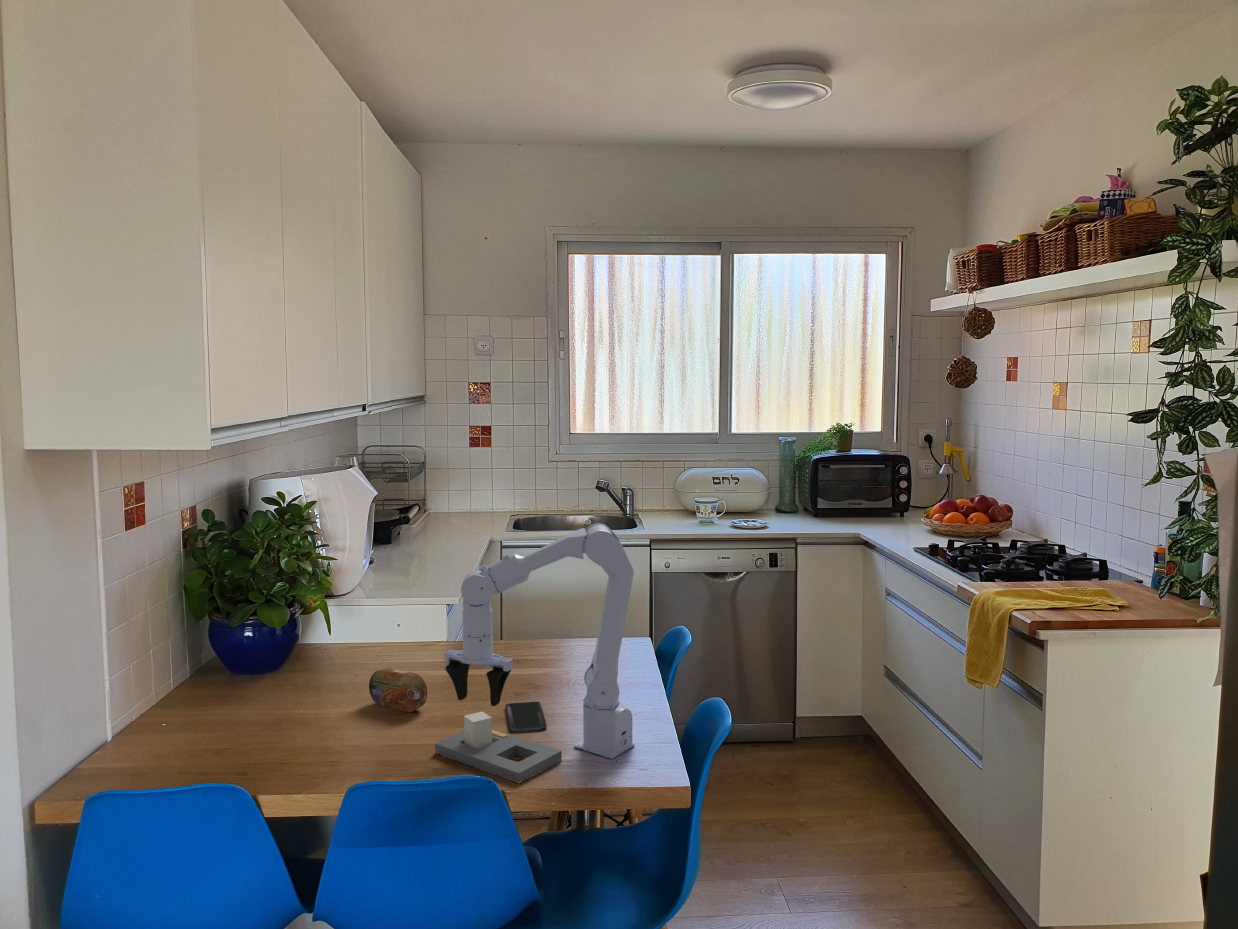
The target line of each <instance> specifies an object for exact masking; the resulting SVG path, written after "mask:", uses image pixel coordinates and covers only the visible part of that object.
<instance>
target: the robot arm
mask: <svg viewBox="0 0 1238 929" xmlns="http://www.w3.org/2000/svg"><path fill="white" fill-rule="evenodd" d="M584 554H586V556H587V557H588V559H589V560H590V561H592V562H593V563H595V564H596V565H597V566H599V567H601V568H602V570H603V571H604V572H605V573H606V575H607V576H608V579H607V584H606V589H605V596H604V600H603V606H602V612H601V618H600V624H599V628H598V634H597V639H596V645H595V649H594V653H593V655H592V659H591V662H590V665H589V666H588V668H587V669H586V670H585V672H584V678H583V680H584V684H585V687H586V695H585V697H584V698H583V700H582V701H583V702H582V703H583V705H582V707H583V710H582V711H583V714H582V715H583V717H582V719H583V728H582V729H583V730H582V731H583V733H582V734H583V738H582V740H580V741H578V742H576V743H574V744H573V747H574V748H576V749H579V750H582V751H586V752H589V753H592V754H595V755H597V756H602V757H605V758H607V759H614V758H615V757H617V756H618V755H620V754H622V753H624V752H626V751H628V750H630V749H632V747H635V746H636V744H635V742H633V714H632V711H631V710H630V709H628V708H626V707H624V706H623V705H622V704H621V702H620V688H619V684H618V676H619V656H620V653H621V652H620V651H621V647H622V642H623V641H622V640H623V634H624V629H625V625H626V620H627V613H628V609H629V608H628V607H629V601H630V596H631V592H632V585H633V582H634V581H633V579H634V573H635V572H634V568H633V566H632V563H631V562H630V559H629V557H628V555H627V553H626V551H625V548H624V546H623V544H622V542H621V540H620V539H619V537H618V536H617V534H615V533H614V531H613V530H612V529H611V528H610V527H609V526H607V525H606V524H604V523H592V524H591V525H589V526H587V527H586V528H585V527H583V528H579V529H576V530H574V531H572V532H570V533H567V534H565V535H564V536H562V537H560V538H558V539H556V540H554V541H551V542H550V543H548V544H546V545H544V546H541V547H540V548H538V549H536V550H534V551H532V552H530V553H527V554H526V555H524V556H523V555H520V554H517V553H513V554H511V555H510V554H509V553H505V554H504V555H503V554H502V559H501V560H498V561H496V562H494V563H491V564H490V565H487V566H486V565H481V566H480V567H479V570H473V571H471V572H468V573H467V574H466V575H465V577H464V579H463V580H462V584H461V587H460V592H461V596H462V599H463V600H462V613H461V614H462V616H461V617H462V618H461V619H462V649H461V650H457V649H448V650H446V651H444V652H443V653H444V654H443V655H444V656H443V658H444V662H445V663H448V664H447V665H446V666H445V671H446V673H447V674H448V675H449V677H450V679H451V681H452V683H453V687H454V690H455V692H456V696H457V700H458V701H462V700H464V699H466V698H467V697H468V679H469V678H468V676H469V671H470V670H469V669H470V665H473V666H479V667H483V668H484V667H486V668H491V670H489V671H487V672H486V674H485V675H486V678H487V681H488V685H489V694H490V696H489V697H490V698H489V701H490V706H492V707H496V706H497V705H498V704H500V703H501V698H502V693H503V690H504V686H505V684H506V681H507V679H508V677H509V675H510V674H511V671H512V670H513V669H514V668H513V667H514V663H513V660H514V659H513V658H510V657H505V656H502V655H501V654H500V655H499V654H496V653H493V652H494V651H493V650H494V646H493V644H494V642H493V640H494V638H493V633H494V632H493V609H492V607H491V606H492V605H491V604H492V600H491V598H492V595H499V594H501V593H503V592H505V591H508V590H509V589H512V588H514V587H516V586H518V585H520V584H523V583H525V582H527V581H528V579H529V577H530V574H531V573H532V572H533V571H535V570H538V569H540V568H543V567H545V566H548V565H550V564H553V563H555V562H557V561H560V560H562V559H565V558H567V557H571V558H574V559H575V558H576V559H579V560H584Z"/></svg>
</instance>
